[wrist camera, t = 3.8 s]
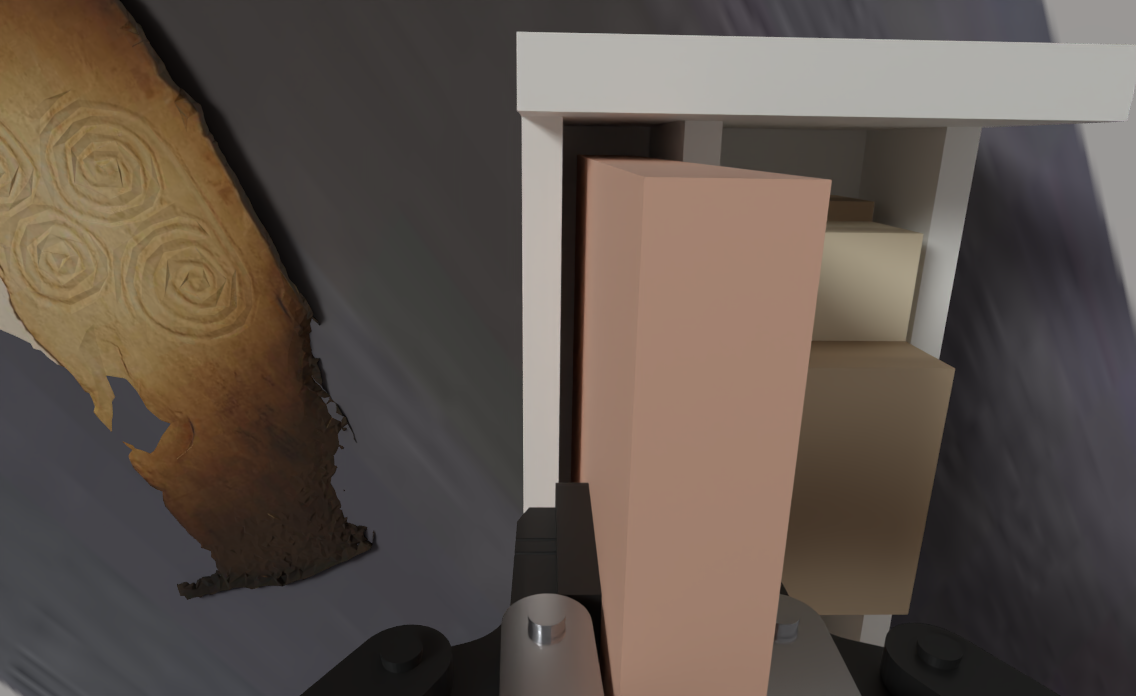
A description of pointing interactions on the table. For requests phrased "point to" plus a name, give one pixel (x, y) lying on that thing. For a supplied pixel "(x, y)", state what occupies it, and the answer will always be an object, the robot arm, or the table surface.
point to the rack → (774, 159)
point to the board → (691, 409)
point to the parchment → (163, 291)
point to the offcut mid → (866, 282)
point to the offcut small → (864, 475)
